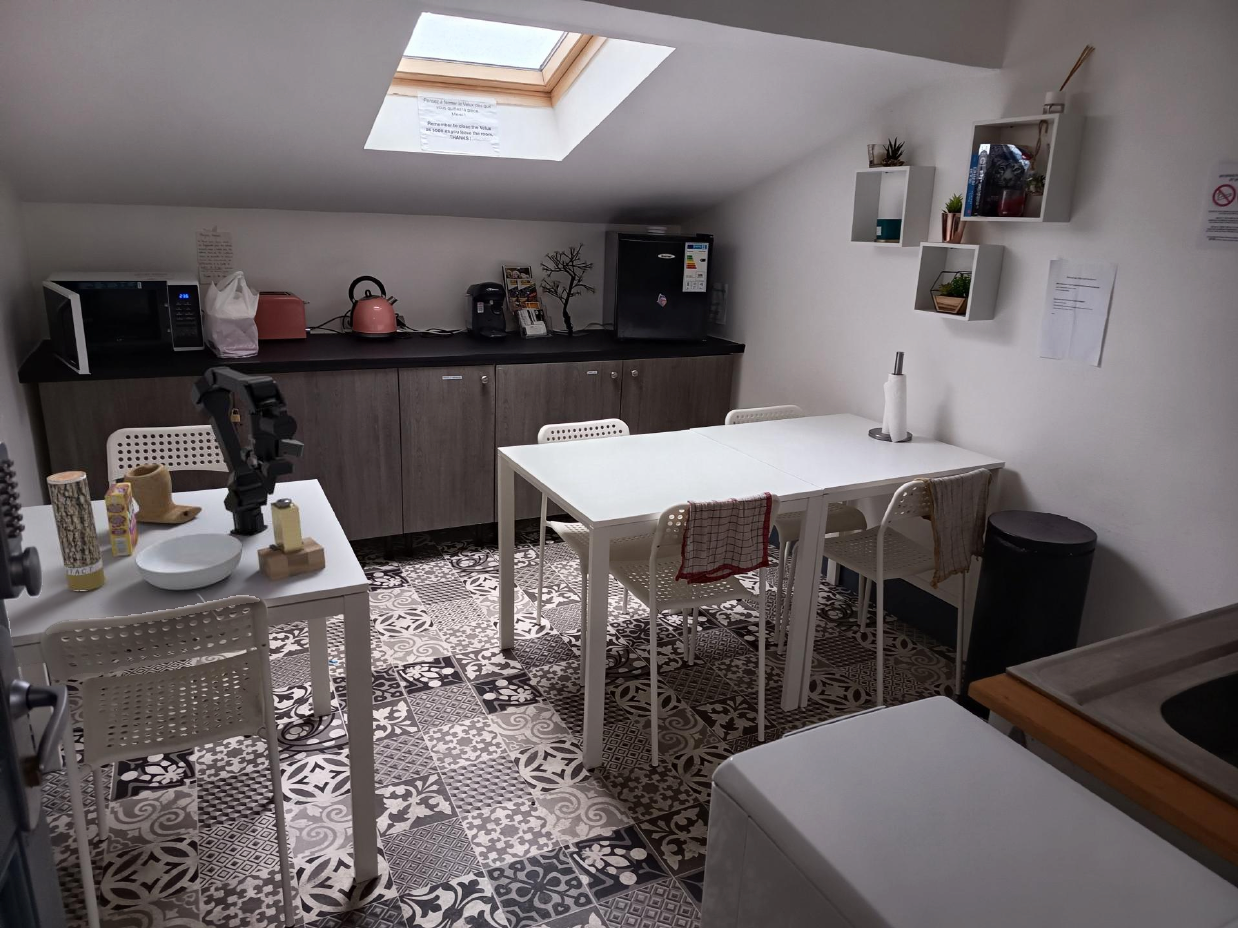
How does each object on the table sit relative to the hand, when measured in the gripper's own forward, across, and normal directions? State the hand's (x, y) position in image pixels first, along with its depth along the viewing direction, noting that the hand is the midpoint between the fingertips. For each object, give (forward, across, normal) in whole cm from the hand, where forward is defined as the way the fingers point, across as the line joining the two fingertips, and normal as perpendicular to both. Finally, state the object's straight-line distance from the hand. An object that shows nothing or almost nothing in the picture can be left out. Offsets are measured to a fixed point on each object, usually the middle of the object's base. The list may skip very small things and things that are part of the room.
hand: (270, 494), depth 200 cm
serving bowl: (+13, -8, +21) cm, 26 cm away
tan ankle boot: (+13, +33, +17) cm, 39 cm away
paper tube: (+13, +2, +39) cm, 42 cm away
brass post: (+13, -15, +2) cm, 20 cm away
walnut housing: (+13, -15, +2) cm, 20 cm away
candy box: (+13, +19, +28) cm, 37 cm away
